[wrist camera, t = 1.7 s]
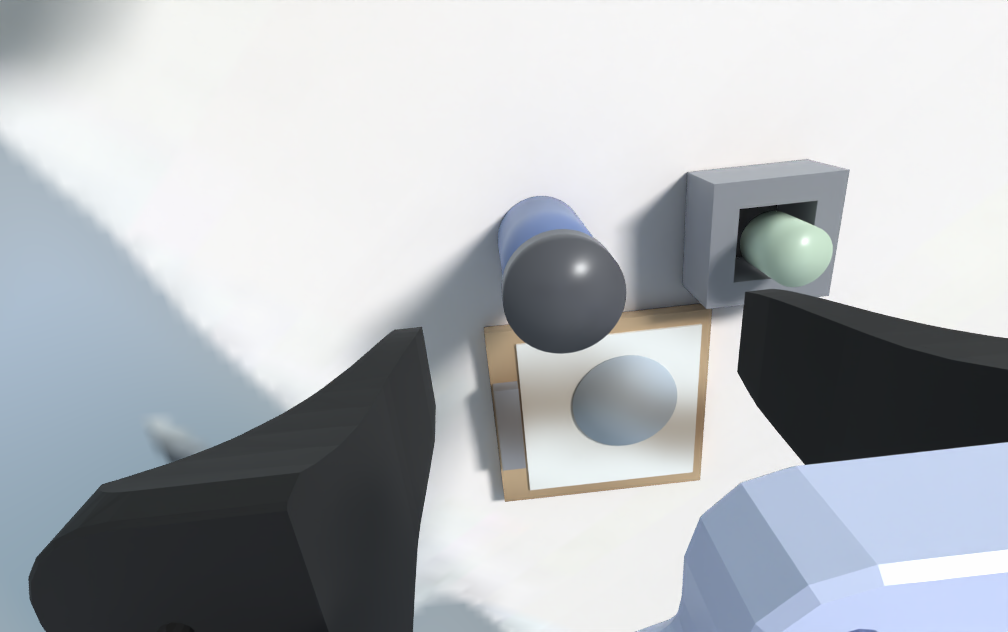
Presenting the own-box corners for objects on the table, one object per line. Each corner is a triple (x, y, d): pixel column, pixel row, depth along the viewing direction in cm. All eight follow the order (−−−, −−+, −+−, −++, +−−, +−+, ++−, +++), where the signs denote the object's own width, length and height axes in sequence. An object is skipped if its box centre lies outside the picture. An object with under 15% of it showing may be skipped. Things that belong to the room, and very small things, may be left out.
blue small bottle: (586, 276, 21) (626, 346, 15) (499, 285, 21) (508, 359, 15) (583, 188, 20) (626, 232, 14) (490, 198, 20) (497, 246, 14)
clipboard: (695, 471, 25) (705, 489, 24) (504, 492, 25) (505, 511, 24) (705, 303, 22) (718, 315, 21) (484, 327, 22) (484, 340, 20)
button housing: (792, 273, 21) (828, 295, 19) (682, 284, 21) (706, 308, 19) (807, 159, 20) (849, 169, 17) (687, 172, 19) (714, 184, 17)
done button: (793, 263, 19) (827, 283, 17) (737, 269, 19) (765, 290, 17) (801, 207, 18) (837, 222, 16) (742, 213, 18) (772, 229, 16)
